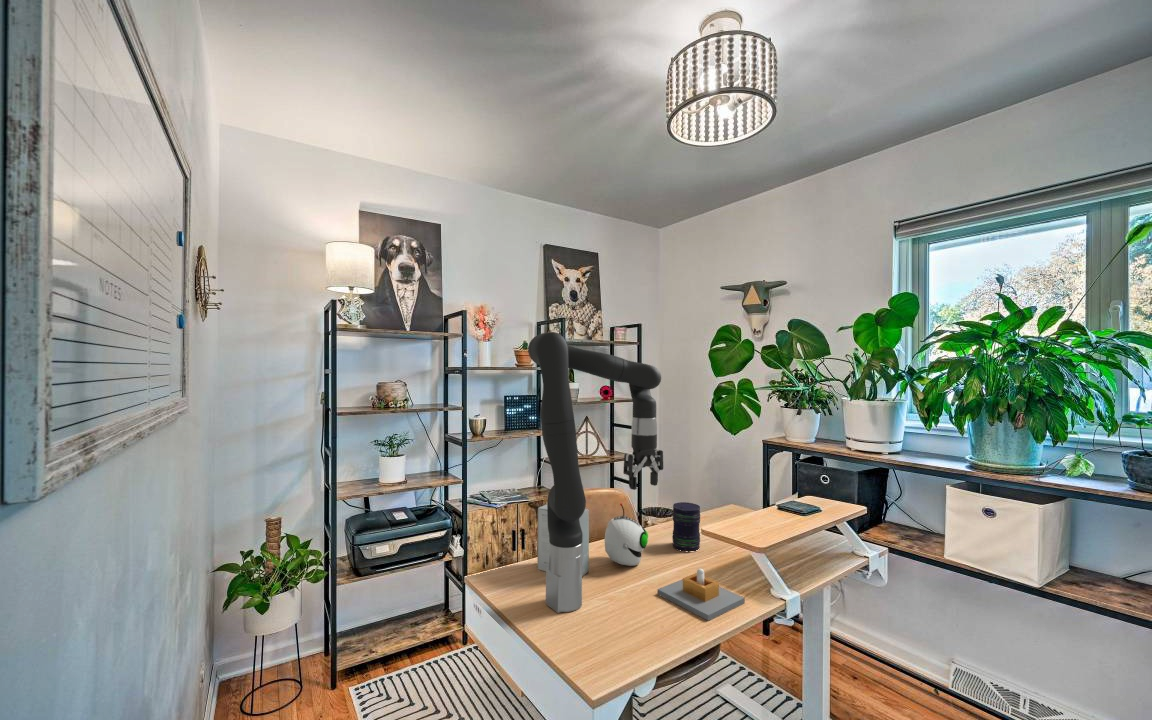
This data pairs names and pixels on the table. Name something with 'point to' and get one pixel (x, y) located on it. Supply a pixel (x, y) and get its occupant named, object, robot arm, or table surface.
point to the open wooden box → (701, 588)
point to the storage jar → (686, 526)
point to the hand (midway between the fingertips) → (643, 487)
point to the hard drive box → (544, 540)
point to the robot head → (625, 540)
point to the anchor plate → (697, 606)
